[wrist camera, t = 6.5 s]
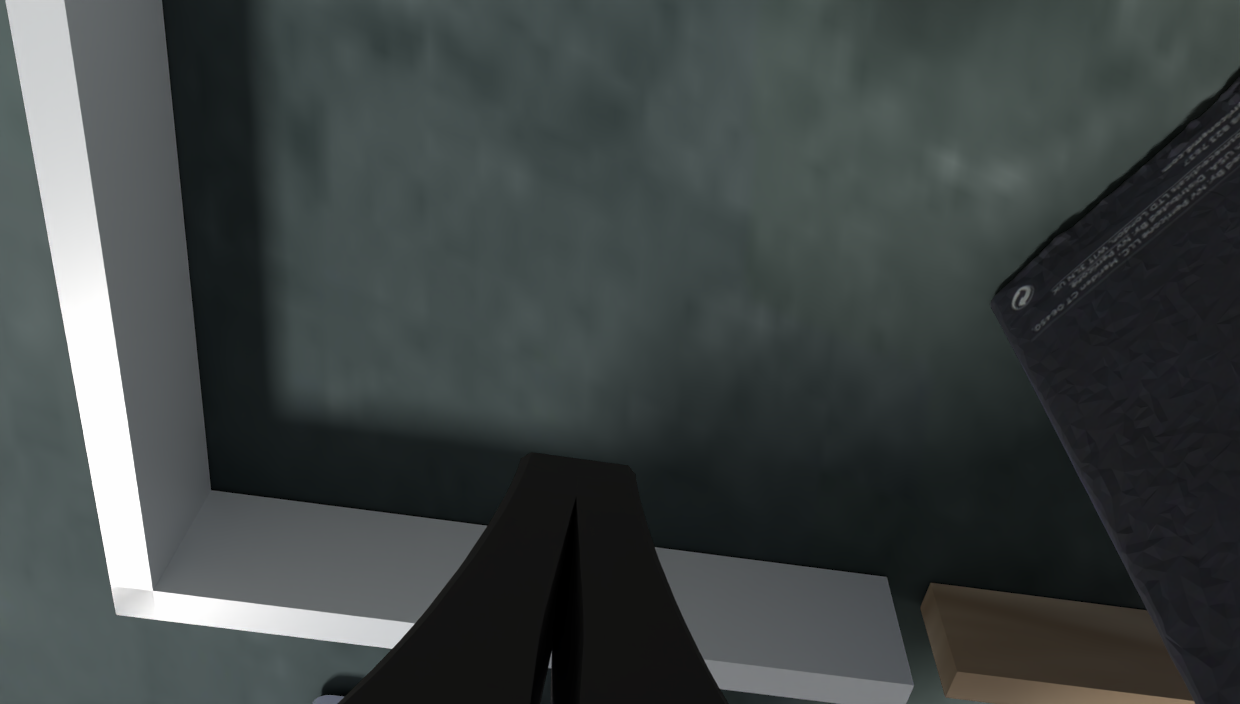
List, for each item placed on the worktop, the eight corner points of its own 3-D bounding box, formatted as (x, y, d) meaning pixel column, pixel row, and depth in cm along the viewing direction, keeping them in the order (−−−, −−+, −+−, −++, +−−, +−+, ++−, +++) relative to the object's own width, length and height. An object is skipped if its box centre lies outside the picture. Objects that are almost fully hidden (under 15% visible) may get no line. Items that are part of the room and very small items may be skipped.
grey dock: (877, 602, 23) (903, 711, 21) (177, 512, 23) (116, 614, 20) (1162, -149, 15) (1263, -119, 13) (73, -322, 14) (-54, -328, 12)
